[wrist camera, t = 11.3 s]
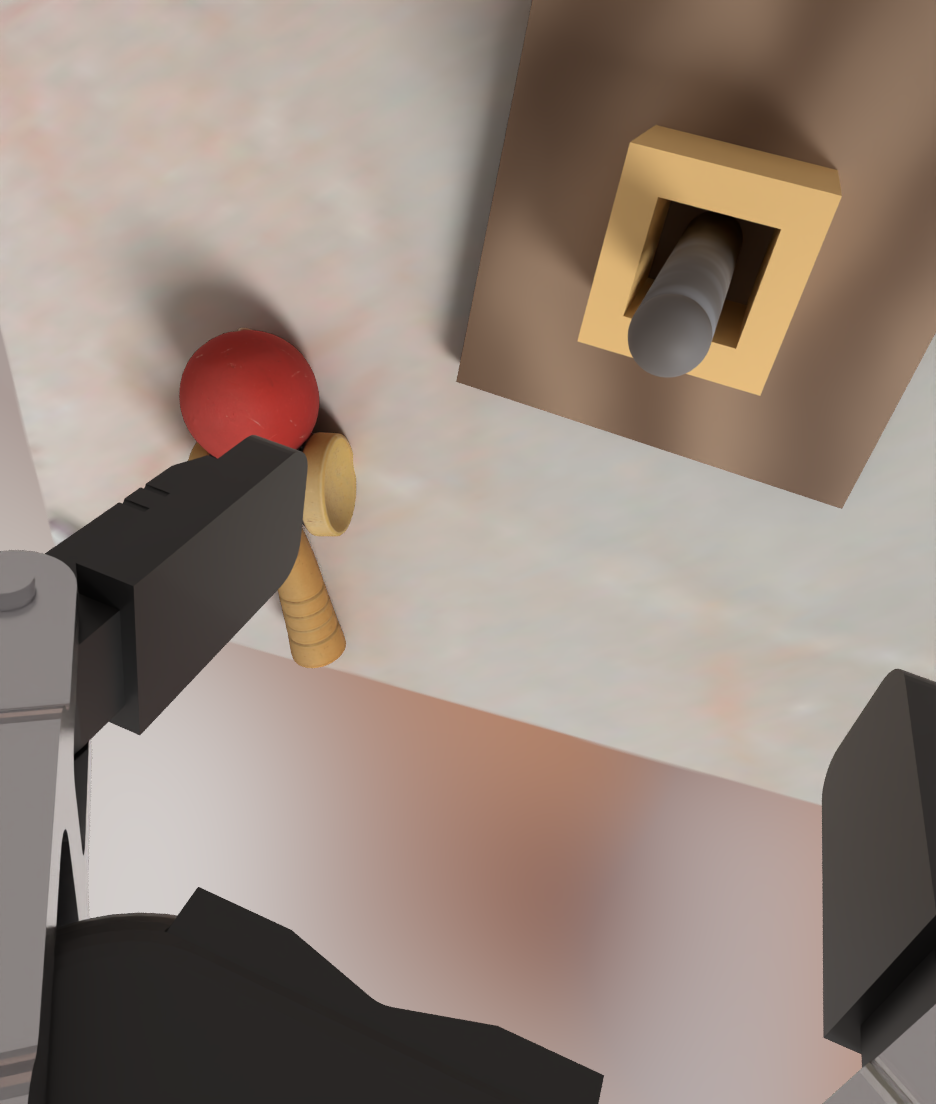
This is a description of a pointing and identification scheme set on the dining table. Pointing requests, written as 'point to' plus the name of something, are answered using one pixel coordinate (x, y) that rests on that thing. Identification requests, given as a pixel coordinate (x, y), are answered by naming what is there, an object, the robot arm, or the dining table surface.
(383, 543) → the dining table surface
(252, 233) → the dining table surface
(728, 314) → the tan hollow square block
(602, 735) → the dining table surface
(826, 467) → the needle stand
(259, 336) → the kendama
